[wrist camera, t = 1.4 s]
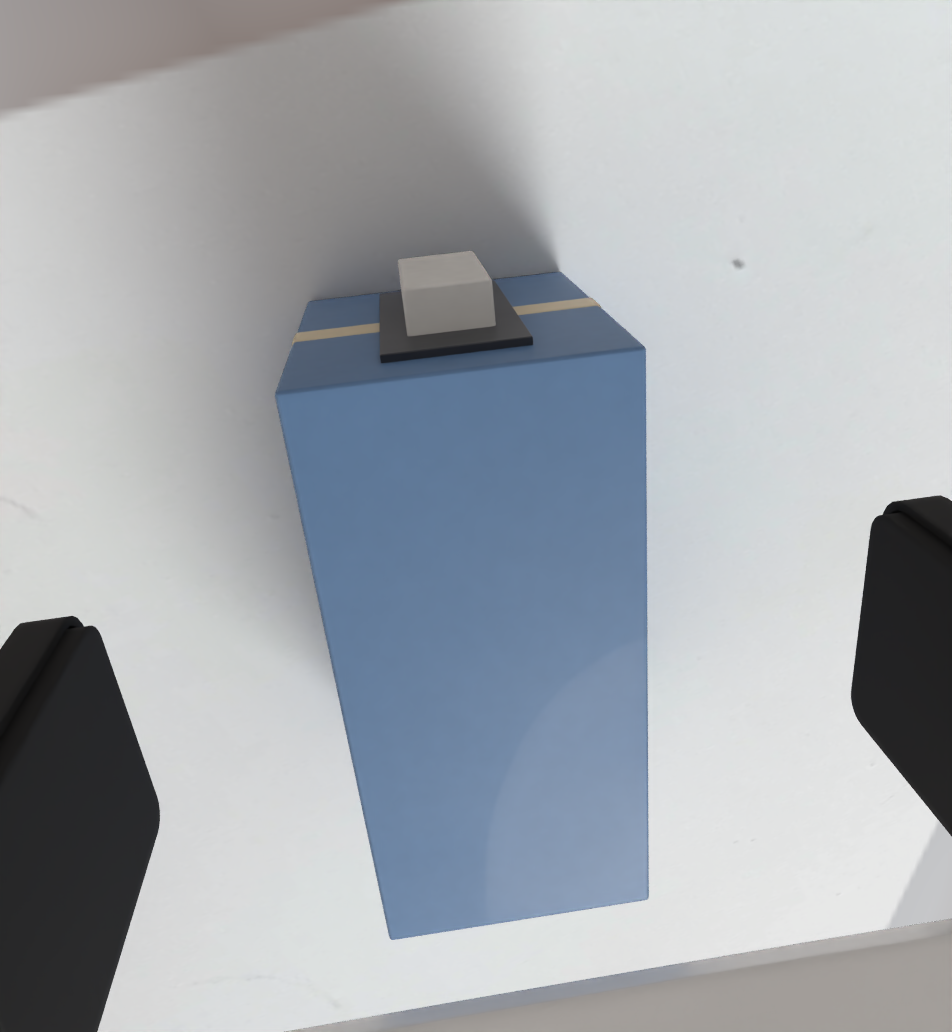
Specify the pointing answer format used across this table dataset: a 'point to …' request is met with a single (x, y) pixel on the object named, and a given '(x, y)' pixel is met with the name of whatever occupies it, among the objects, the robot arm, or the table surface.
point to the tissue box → (481, 585)
